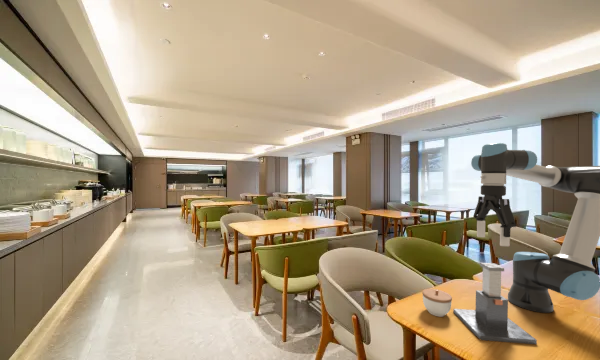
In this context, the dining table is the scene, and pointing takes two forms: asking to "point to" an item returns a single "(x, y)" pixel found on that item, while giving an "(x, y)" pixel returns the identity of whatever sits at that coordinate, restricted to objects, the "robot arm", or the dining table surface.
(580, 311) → the dining table surface
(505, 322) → the stand housing
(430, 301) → the lidded jar
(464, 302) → the dining table surface
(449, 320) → the dining table surface
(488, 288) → the white square column
